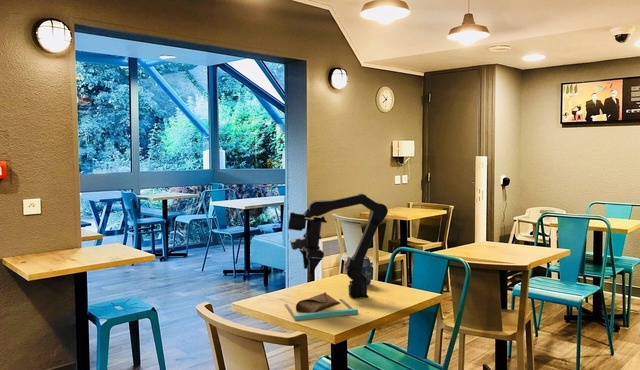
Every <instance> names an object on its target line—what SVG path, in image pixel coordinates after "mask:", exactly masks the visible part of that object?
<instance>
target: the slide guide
mask: <svg viewBox="0 0 640 370" xmlns="http://www.w3.org/2000/svg"><path fill="white" fill-rule="evenodd" d="M339 302H341V303H342V304H343V305H345V307H347V309H346V308H345V309H335V310H326V311H318V312H314V313H305V312H303V313H296V314H295V313H294V312H293V310H292V308H291V307H290V306H289V304H288V303H285V304H284V306H285V308H286V310H287V311H288V313H290V316H291V317H292V318H293V320H294V321H301V320H303V321H304V320H312V319H323V318H332V317H333V318H334V317H341V316H348V315H349V316H350V315H358V314H359V309H358V308H355V307H354V308H353V307H352V306H351V305H350V304H349V303H348V302H347V301H345V300H344V299H343V298H339Z"/></svg>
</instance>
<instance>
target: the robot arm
mask: <svg viewBox="0 0 640 370" xmlns="http://www.w3.org/2000/svg"><path fill="white" fill-rule="evenodd" d="M356 205H357V206H358V205H362V206H364V207H365V208H367V210H369V214H368V221H367V224H366V226H365V228H364V231H363V233H362V235H361V238H360V240H359V243H358V245H357V247H356V249H355V252H354V254H353V255H352V257H350V256H347V260H346V262H345V263H344V272H345V274H346V275H347V277H348V278H349V279H350V280H349V284H348V285H347V286H348V296H349V297H351V298H352V299H353V300H354V299H355V300H356V299H363V298H364V299H365V298H366V299H367V298H369V295H368V288H367V287H368V286H367V278H366V276H365V275H364V274H363V273H362V269H363V262H364V257H366V255H367V253H368V250H369V248H370V246H371V244H372V241H373V239H374V236H375V234H376V232H377V229H378V227H379V226H380V225H381V224H382V223H383V221H384V220H385V218H386V217H387V215H388V212H389V210H388V209H389V208H388V207H387V205H385V204H384V203H380V202H376V201H374V200H373V199H371V197H368V196H367V195H366V194H364V193H358V194H354V195H350V196H345V197H340V198H335V199H331V200H330V199H329V200H325V199H324V200H312V201H311V202H310V203H309V205H308V208H307V209H306V210H305V211H304V213H296V212H293V211H291V212H290V213H289V218H288V222H287V230H290V231H298V232H302V231H303V230H306V231H305V233H303V237H298V238H293V239H290V240H289V242H290V247H291V249H292V250H293V251H294V250H295V251H296V250H298V251H299V252H300V254H302V255H301V256H302V262H303V269H304V270H305V269H306V270H307V269H308V274H309V275H313V273H315V272H314V271H316V268H317V266H318V265H319V263H320V262H321V261H322V260H323V259H324V256H325V253H324V251H323V250H322V249H321V246H320V240H322V236H321V230H322V224H323V223H325V224H326V223H327V222H328V221H327V220H326V218H325V216H324V215H325V214H328V213H330V212H331V211H334V210H338V209H343V208H348V207H352V206H356ZM312 217H313V218H312Z"/></svg>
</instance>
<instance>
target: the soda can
mask: <svg viewBox="0 0 640 370" xmlns="http://www.w3.org/2000/svg"><path fill="white" fill-rule="evenodd" d="M371 266H372V265H371V259H370V257H369V256H365V257H364V262H363V269H362V273H363V274H364V275H365V276H366V278H367V287H368V286H370V284H371V283H372V273H371V272H372V271H371V270H372V268H371Z"/></svg>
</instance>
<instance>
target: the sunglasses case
mask: <svg viewBox="0 0 640 370" xmlns="http://www.w3.org/2000/svg"><path fill="white" fill-rule="evenodd" d="M339 304H341V301H337V300H336V299H335V298H333V297H332V296H331V295H329V294H327V293H326V292H323V293H321V294H317V295H315V296H312V297H309V298H306V299H303V300H300V301H298V302H297V303H296V305H295V310H296V312H300V313H314V312H322V310H326V309H327V308H330V307H333V306H336V305H339Z"/></svg>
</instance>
